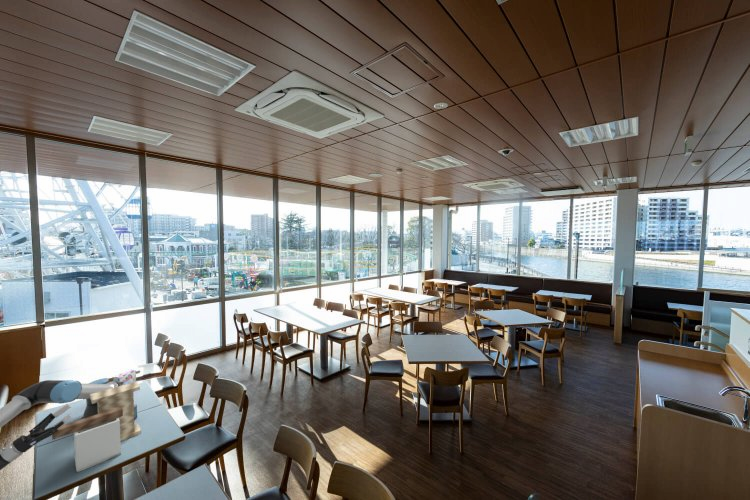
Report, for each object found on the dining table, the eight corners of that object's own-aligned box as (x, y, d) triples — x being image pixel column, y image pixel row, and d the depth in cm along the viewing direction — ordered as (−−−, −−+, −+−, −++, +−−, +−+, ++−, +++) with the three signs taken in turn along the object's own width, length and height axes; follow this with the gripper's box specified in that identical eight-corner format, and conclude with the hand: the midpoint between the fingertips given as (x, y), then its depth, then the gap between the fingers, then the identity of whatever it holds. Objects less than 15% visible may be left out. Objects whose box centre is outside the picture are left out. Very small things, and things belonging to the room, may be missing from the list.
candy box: (119, 398, 232) (118, 377, 231) (113, 398, 233) (112, 376, 232) (136, 389, 245) (136, 369, 245) (130, 389, 247) (130, 369, 246)
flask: (134, 416, 209) (133, 401, 209) (138, 416, 210) (138, 401, 209) (125, 425, 200) (124, 409, 200) (130, 424, 201) (129, 408, 200)
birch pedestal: (93, 451, 176) (91, 400, 174) (91, 443, 182) (89, 394, 181) (141, 433, 192) (139, 386, 191) (137, 426, 199) (136, 381, 197)
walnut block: (52, 439, 156) (52, 432, 156) (52, 436, 158) (51, 428, 158) (122, 416, 176) (122, 409, 176) (121, 413, 179) (121, 406, 179)
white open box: (76, 472, 160) (75, 435, 159) (74, 461, 168) (73, 425, 167) (120, 454, 173) (119, 420, 172) (117, 444, 181) (116, 411, 181)
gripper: (9, 456, 139) (66, 415, 152) (12, 431, 155) (63, 397, 168) (23, 465, 142) (77, 424, 155) (24, 440, 159) (73, 405, 172)
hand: (70, 410), depth 162 cm, fingers open, 13 cm apart
